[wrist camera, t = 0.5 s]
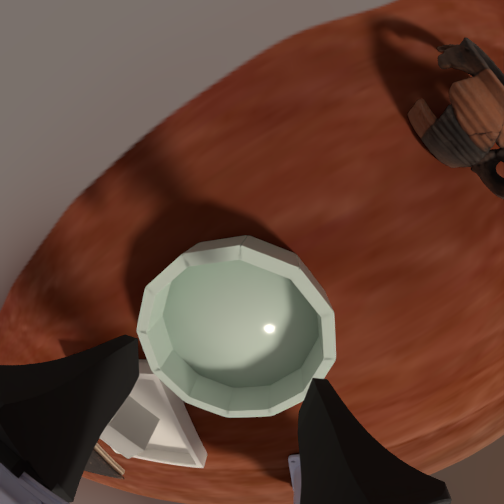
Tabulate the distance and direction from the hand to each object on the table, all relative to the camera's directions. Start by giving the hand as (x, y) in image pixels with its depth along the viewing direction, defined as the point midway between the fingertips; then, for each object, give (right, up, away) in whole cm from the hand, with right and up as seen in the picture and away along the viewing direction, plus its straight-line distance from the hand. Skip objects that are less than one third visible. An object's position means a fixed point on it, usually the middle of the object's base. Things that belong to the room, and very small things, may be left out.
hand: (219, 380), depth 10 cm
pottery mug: (+18, +15, +5) cm, 24 cm away
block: (-11, -12, +13) cm, 21 cm away
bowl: (0, 0, +10) cm, 10 cm away
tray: (-11, -12, +14) cm, 21 cm away
